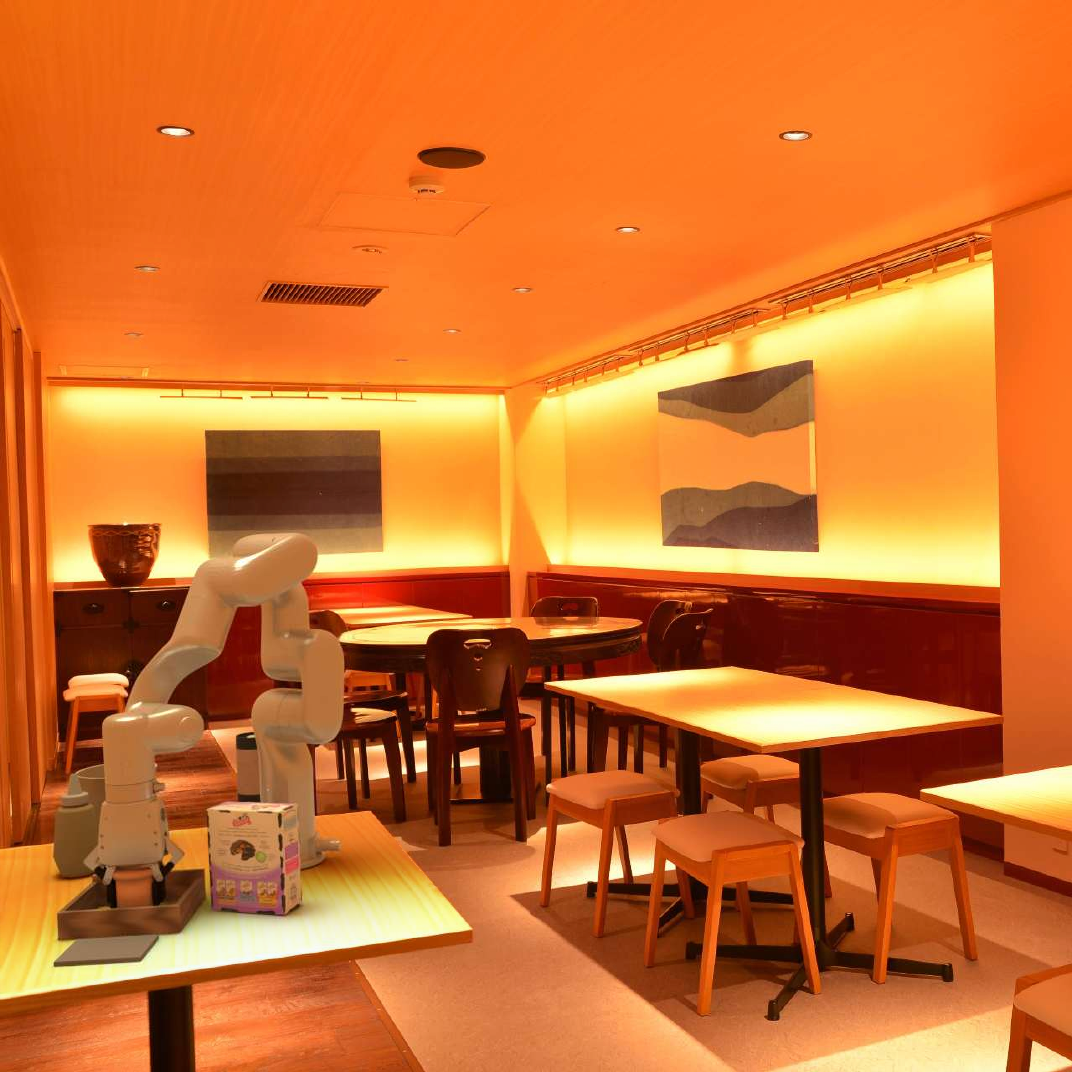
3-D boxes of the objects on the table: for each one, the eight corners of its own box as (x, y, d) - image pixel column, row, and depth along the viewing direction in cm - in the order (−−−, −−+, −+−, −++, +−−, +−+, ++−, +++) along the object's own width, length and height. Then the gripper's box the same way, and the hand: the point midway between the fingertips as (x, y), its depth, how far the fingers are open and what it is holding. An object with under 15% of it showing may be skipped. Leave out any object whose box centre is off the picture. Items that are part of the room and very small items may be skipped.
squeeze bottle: (110, 866, 206) (105, 769, 206) (88, 880, 198) (84, 778, 198) (68, 867, 207) (64, 770, 207) (44, 881, 199) (40, 779, 199)
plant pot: (78, 847, 221) (75, 766, 221) (158, 837, 226) (154, 758, 227) (78, 867, 207) (74, 780, 207) (163, 855, 213) (159, 771, 213)
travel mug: (242, 829, 229) (238, 732, 229) (280, 827, 230) (276, 730, 230) (236, 839, 222) (231, 738, 222) (275, 837, 222) (271, 736, 222)
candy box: (304, 904, 180) (299, 802, 180) (284, 917, 174) (279, 811, 174) (230, 899, 184) (226, 799, 184) (209, 910, 179) (204, 807, 179)
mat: (158, 938, 167) (158, 934, 167) (140, 961, 158) (140, 957, 158) (76, 943, 166) (76, 939, 166) (53, 966, 157) (53, 962, 157)
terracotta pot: (165, 905, 180) (163, 860, 180) (153, 919, 174) (150, 873, 174) (122, 907, 180) (120, 863, 180) (108, 922, 173) (106, 876, 173)
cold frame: (205, 898, 185) (204, 868, 185) (179, 932, 169) (178, 899, 169) (95, 905, 184) (93, 874, 184) (58, 939, 168) (56, 906, 168)
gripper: (192, 783, 181) (198, 894, 181) (83, 789, 180) (89, 901, 180) (180, 794, 173) (186, 910, 174) (66, 801, 173) (72, 917, 173)
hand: (137, 904), depth 177 cm, fingers closed on terracotta pot, 6 cm apart
